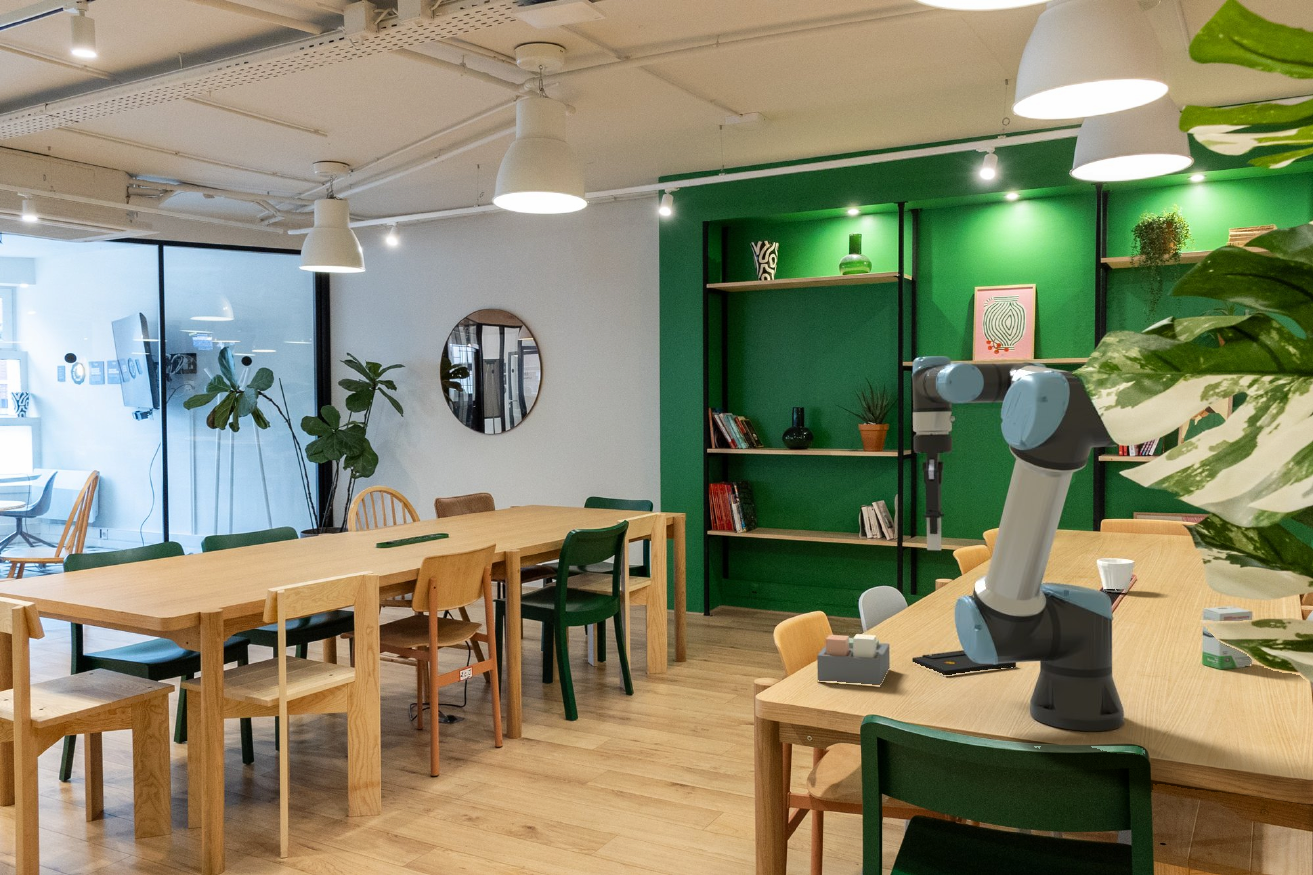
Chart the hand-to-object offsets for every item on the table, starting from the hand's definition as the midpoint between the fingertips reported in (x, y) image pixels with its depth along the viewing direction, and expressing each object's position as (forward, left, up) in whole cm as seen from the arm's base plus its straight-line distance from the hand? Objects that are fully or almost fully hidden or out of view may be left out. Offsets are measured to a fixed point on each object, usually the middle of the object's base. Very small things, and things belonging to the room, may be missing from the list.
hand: (934, 549), depth 198 cm
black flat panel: (+11, -5, -27) cm, 30 cm away
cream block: (-7, +13, -23) cm, 27 cm away
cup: (+110, -41, -26) cm, 120 cm away
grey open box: (-3, +16, -26) cm, 31 cm away
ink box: (+28, -56, -26) cm, 68 cm away
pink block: (-7, +19, -24) cm, 31 cm away
